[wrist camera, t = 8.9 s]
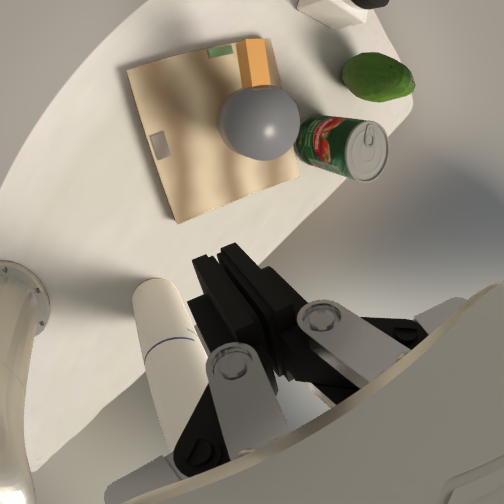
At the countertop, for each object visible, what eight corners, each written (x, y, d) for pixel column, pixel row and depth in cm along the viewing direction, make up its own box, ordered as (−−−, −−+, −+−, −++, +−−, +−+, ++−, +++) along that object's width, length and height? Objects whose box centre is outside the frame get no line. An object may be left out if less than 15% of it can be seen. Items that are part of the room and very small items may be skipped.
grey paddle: (287, 149, 33) (303, 153, 31) (224, 163, 31) (235, 168, 28) (274, 43, 27) (289, 38, 24) (205, 48, 24) (215, 41, 22)
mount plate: (175, 220, 37) (184, 236, 33) (126, 72, 26) (128, 63, 22) (293, 174, 42) (315, 183, 37) (264, 40, 31) (286, 32, 27)
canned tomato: (334, 164, 44) (386, 182, 35) (293, 166, 41) (343, 185, 32) (337, 116, 40) (391, 123, 32) (294, 113, 38) (348, 118, 29)
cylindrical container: (141, 272, 38) (191, 434, 18) (187, 286, 42) (265, 430, 22) (125, 313, 39) (163, 472, 19) (168, 323, 44) (228, 467, 23)
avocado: (361, 107, 42) (420, 115, 32) (326, 88, 38) (388, 90, 28) (371, 67, 39) (429, 68, 29) (338, 45, 35) (398, 38, 25)
